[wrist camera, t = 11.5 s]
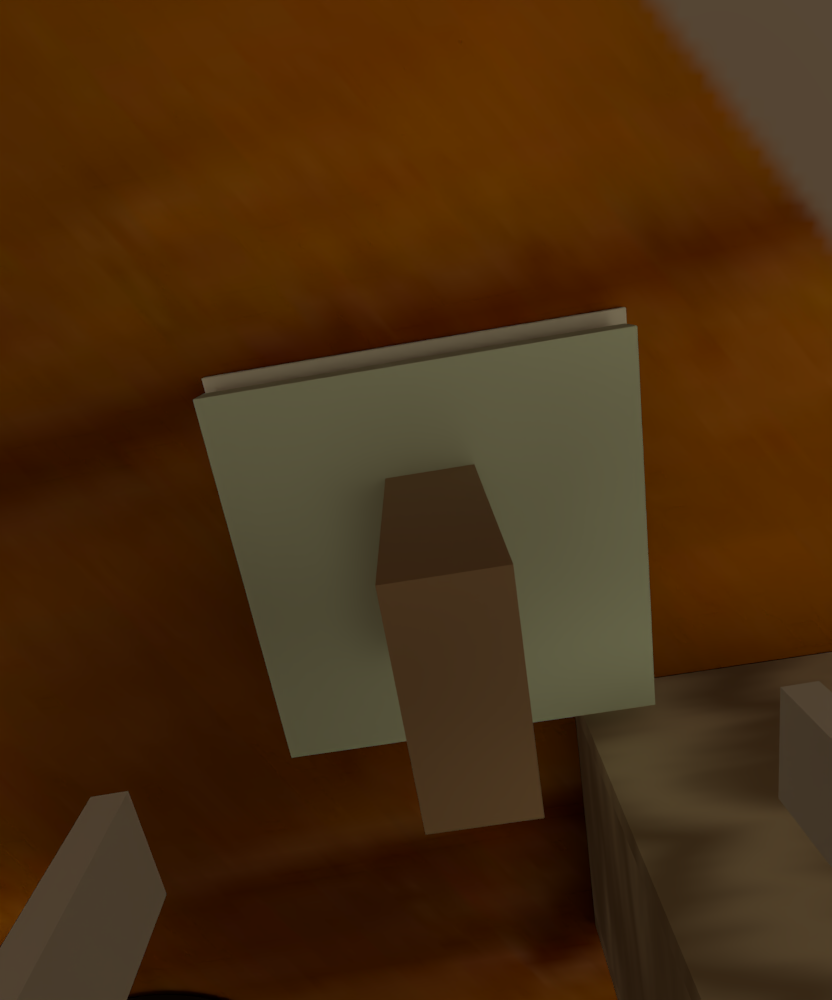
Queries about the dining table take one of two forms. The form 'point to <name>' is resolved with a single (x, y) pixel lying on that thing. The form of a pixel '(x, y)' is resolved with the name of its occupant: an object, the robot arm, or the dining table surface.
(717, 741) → the crate
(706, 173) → the dining table surface
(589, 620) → the lid
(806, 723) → the robot arm
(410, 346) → the mat
